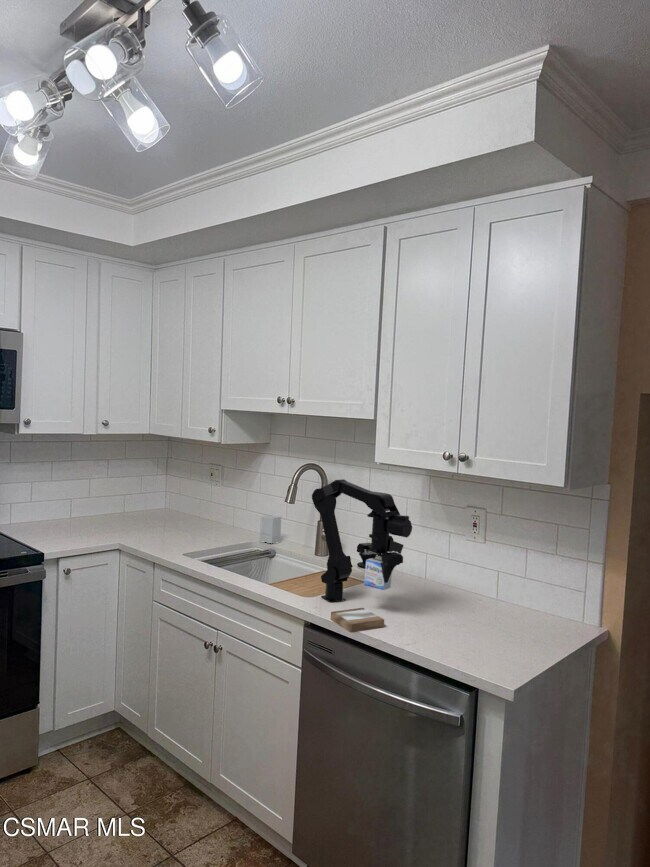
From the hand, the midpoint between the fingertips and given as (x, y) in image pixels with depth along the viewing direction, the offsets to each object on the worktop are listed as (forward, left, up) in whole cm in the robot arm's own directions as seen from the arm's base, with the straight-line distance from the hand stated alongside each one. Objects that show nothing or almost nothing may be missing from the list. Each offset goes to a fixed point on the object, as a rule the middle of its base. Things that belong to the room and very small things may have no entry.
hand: (377, 578), depth 209 cm
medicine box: (0, 0, -3) cm, 3 cm away
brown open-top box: (+7, -12, -11) cm, 18 cm away
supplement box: (-106, +12, -11) cm, 107 cm away
